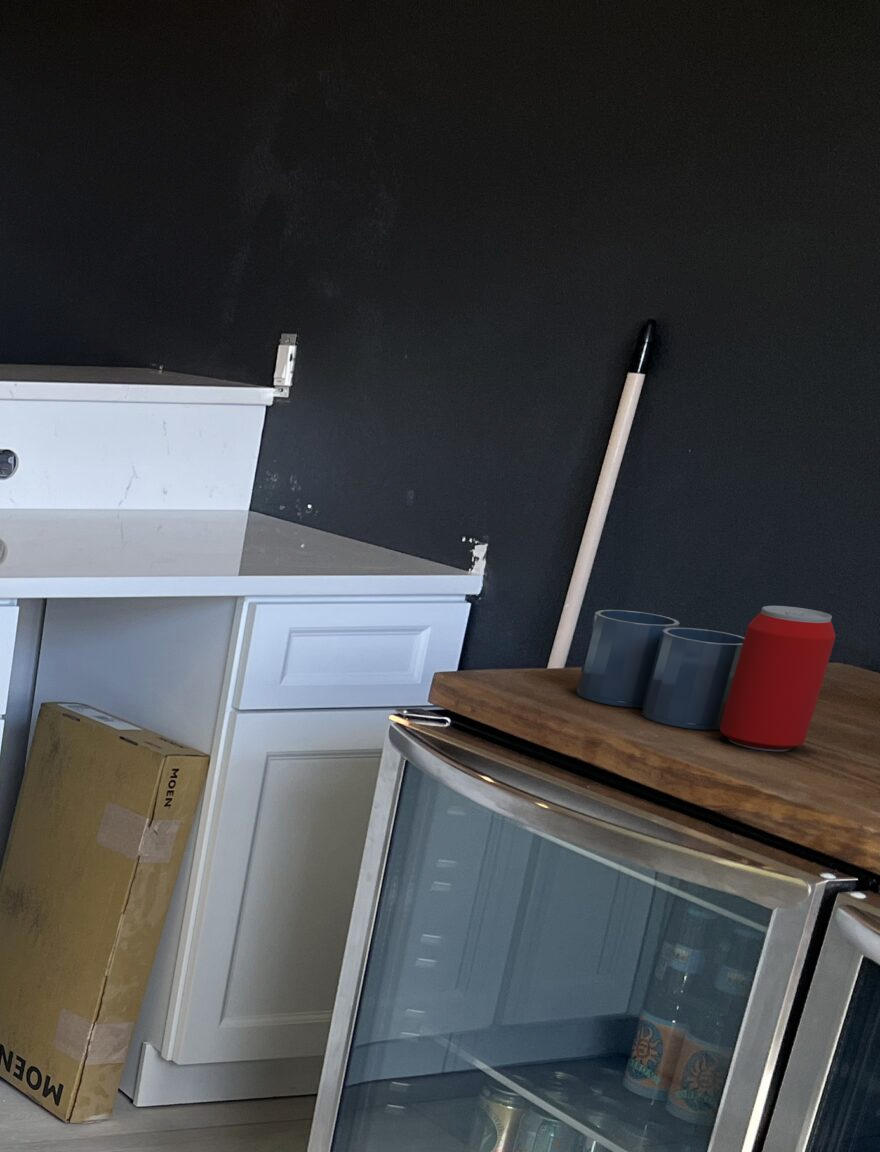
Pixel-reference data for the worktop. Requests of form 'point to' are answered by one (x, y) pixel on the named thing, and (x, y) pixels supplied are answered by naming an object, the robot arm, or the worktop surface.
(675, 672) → the tumbler mid
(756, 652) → the beverage can
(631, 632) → the tumbler far
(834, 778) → the worktop surface
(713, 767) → the worktop surface
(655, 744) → the worktop surface
